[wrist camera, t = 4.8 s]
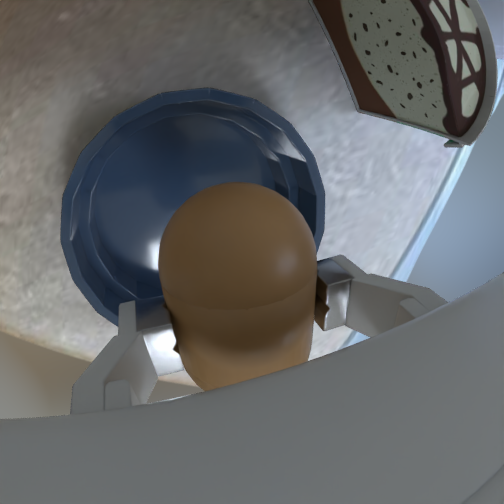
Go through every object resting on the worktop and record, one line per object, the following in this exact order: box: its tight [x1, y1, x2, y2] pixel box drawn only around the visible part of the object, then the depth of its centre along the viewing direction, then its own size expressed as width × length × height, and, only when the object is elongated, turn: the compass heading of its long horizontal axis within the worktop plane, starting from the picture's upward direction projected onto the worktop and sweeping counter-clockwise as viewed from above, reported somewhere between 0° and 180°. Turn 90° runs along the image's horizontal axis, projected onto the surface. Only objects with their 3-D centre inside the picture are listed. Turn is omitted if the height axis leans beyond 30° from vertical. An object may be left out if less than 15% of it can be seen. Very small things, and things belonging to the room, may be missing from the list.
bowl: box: [60, 88, 325, 326], centre depth 18 cm, size 14×14×5 cm
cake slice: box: [308, 0, 497, 148], centre depth 15 cm, size 12×6×10 cm, turn 26°
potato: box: [158, 182, 317, 391], centre depth 10 cm, size 8×5×5 cm, turn 3°
